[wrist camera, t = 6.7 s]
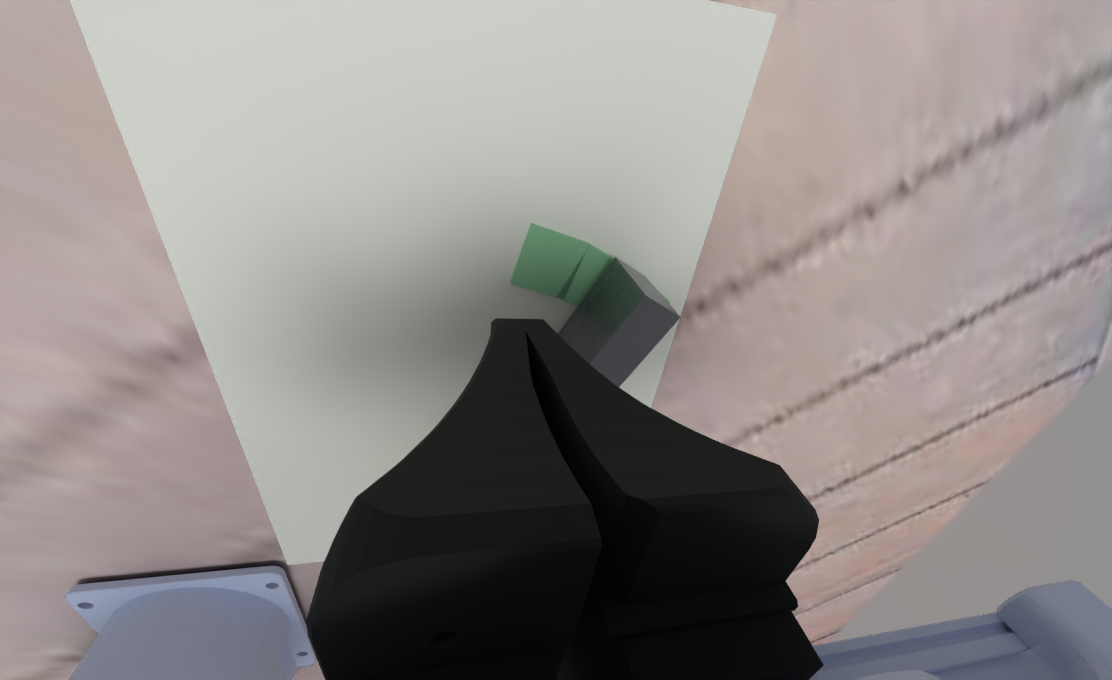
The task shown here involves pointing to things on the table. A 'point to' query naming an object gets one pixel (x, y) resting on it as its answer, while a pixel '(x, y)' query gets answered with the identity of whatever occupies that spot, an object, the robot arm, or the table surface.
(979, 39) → the table surface
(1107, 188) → the table surface
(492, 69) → the dial board
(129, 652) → the robot arm
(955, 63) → the table surface
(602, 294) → the dial lever
